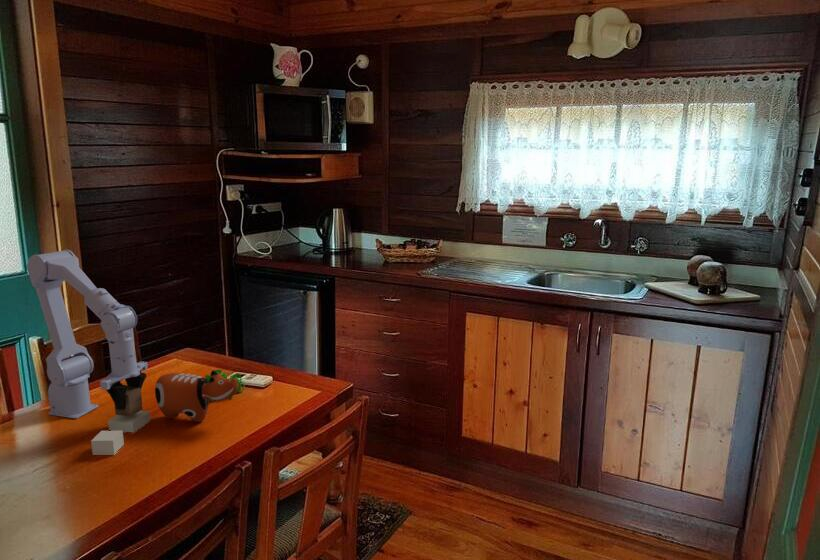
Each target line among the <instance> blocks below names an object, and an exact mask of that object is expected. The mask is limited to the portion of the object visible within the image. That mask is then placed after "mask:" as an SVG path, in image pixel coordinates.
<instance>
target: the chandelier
mask: <svg viewBox="0 0 820 560" xmlns="http://www.w3.org/2000/svg"><path fill="white" fill-rule="evenodd" d="M214 371H216V372H217V373H218V374H219V375H220V376H221V377H224V378H228V376H227V373H226V372H225V371H224V372H223V370H221V369H216V370H214ZM210 375H211V374H206V375H205V377H204V378H206V380H207V381H208V382H209V380H210ZM229 378H235V379H236V380H237V381H238V384H239V388H238V391H237V392H236V393H239V392H240V393H243V391H244V390H245V386H246V385H245V383H244V382H243V380H242V376H241V375H239V374H237V373H236V374H235V373H234V374H233V375H230V377H229ZM242 385H243V386H242ZM242 387H243V388H242ZM233 397H234V395H233V396H232V397H230V398H228V399H229V400H230V399H232V398H233ZM209 400H210V401H211V402H215V400H213V399H211V398H209Z"/></svg>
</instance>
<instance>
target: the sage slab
mask: <svg viewBox="0 0 820 560" xmlns="http://www.w3.org/2000/svg"><path fill="white" fill-rule="evenodd" d="M150 420H151V412H150V411H147V410H141V411H139V412H138V413H136V414H134V415H133V416H131V417H128V416H121V415H115V416H114V417H112V418H110V419H109V420H108V421H107V424H108V431H109V430H111V431H123V433H126V432H133V433H132V434H135V433H136V432H138V431H139V430H140V429H142V428H143V427H145V426H146V425H147V424H149V423H150V422H151V421H150ZM149 421H150V422H149ZM148 422H149V423H148ZM146 423H147V424H146ZM145 424H146V425H145ZM142 426H143V427H142ZM141 427H142V428H141ZM139 428H140V429H139ZM138 429H139V430H138ZM137 430H138V431H137ZM135 431H136V432H135ZM134 432H135V433H134Z"/></svg>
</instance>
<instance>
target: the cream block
mask: <svg viewBox="0 0 820 560" xmlns="http://www.w3.org/2000/svg"><path fill="white" fill-rule="evenodd" d="M90 443H91V451H92V456H93V455H115V454H116V453H117V454H118V452H119V451H120V450H121V449H122V448H123V447H124V446H125V441H124V432H123V431H109V430H100V432H98V433H97V434H96V435H95V436H94V438H93V439H91V440H90ZM123 445H124V446H123ZM122 446H123V447H122ZM121 447H122V448H121ZM120 448H121V449H120ZM119 449H120V450H119ZM118 450H119V451H118ZM117 451H118V452H117ZM117 454H116V455H117ZM116 455H115V456H116Z"/></svg>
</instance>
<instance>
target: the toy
mask: <svg viewBox="0 0 820 560" xmlns="http://www.w3.org/2000/svg"><path fill="white" fill-rule="evenodd" d="M209 375H210V380H209V382H208V381H207V380H206V378H205V377H203V376H200V375H199V374H198V375H196V374H192V373H181V372H171V373H170V372H169V373H165V374H162V375H161V376H160V377H158V379H157V380H156V382H155V383H156V384H155V386H154V392H155V393H154V394H155V400H156V404H157V406H158V408H159V410H160V412H161V413H162V415H164V416H165V417H166V418H167V419H176V418H178V416H179V415H180V414H183V415H186V416H187V417H188V418H189V419H191V421H192V422H195V423H200V422H203V421H204V420H205V419H206V416H207V413H208V409H209V405H210V404H209V403H210V400H211V399H213V401H217V402H222V401H226V400H228V399H229V398H231V397H232V396H233V397H234V396H235V394H236V393H238V392H237V391H238V388H239V384H238V381H237V380H236V379H235V378H230V377H227V378H224V377H221V374H218V373H217V372H216V371H215V370H214V369H212V370H211V371H210V374H209ZM233 397H232V398H233ZM210 398H211V399H210Z"/></svg>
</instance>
